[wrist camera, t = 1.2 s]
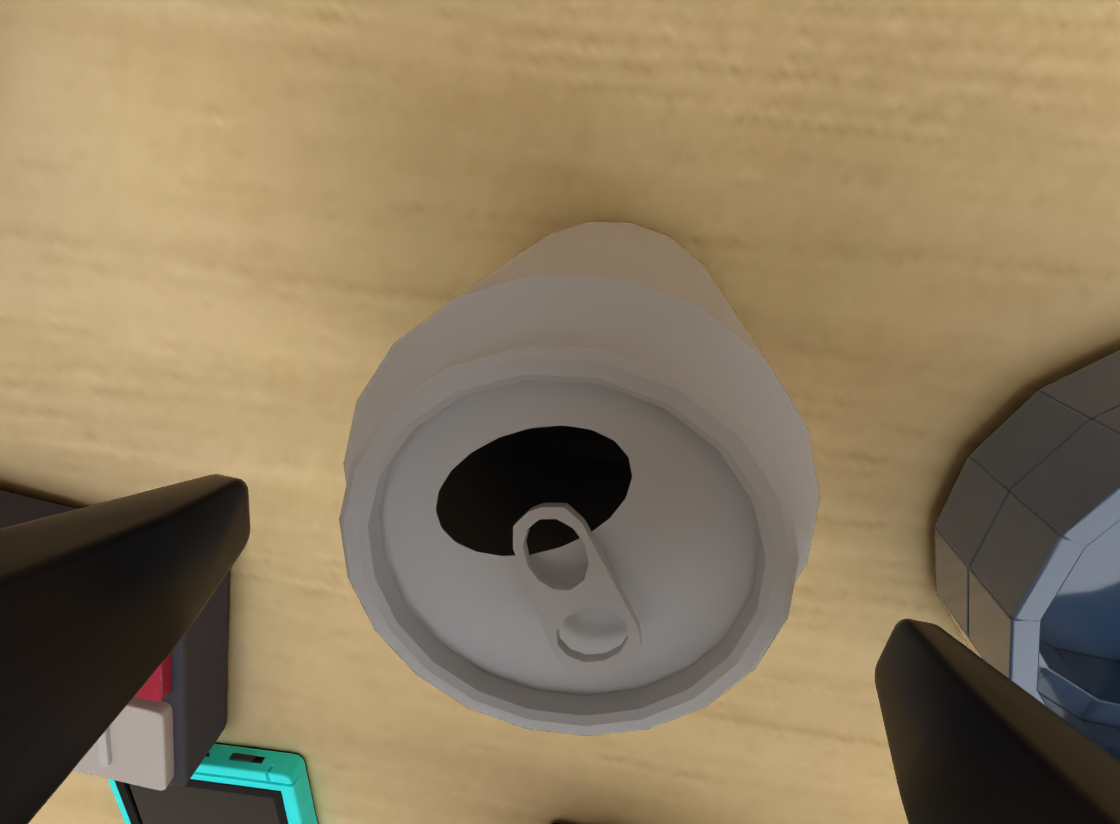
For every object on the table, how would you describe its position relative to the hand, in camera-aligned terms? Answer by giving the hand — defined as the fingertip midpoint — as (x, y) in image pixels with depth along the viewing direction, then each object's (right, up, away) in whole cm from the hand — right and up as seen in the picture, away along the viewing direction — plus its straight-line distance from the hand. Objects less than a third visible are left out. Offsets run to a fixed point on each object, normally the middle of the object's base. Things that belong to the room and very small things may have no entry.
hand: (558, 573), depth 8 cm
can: (+2, +4, +11) cm, 12 cm away
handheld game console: (-17, -21, +24) cm, 36 cm away
